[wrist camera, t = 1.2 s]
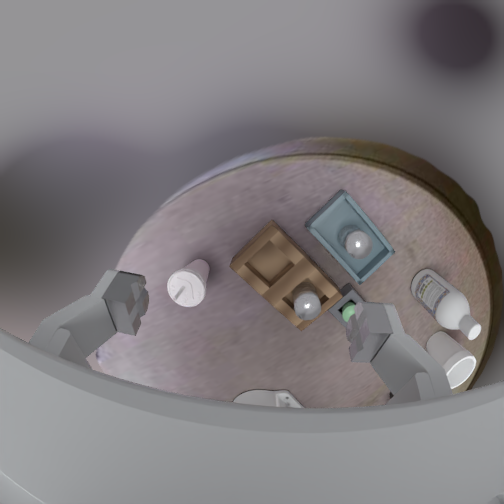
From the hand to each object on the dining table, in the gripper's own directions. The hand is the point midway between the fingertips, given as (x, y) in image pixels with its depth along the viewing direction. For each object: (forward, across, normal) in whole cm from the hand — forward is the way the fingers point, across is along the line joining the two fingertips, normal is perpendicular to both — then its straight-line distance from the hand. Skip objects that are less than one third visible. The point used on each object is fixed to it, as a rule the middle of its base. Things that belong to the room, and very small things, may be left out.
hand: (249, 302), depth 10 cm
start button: (+29, +19, -28) cm, 45 cm away
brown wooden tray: (+32, +6, -24) cm, 41 cm away
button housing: (+31, +19, -29) cm, 46 cm away
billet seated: (+30, +10, -26) cm, 41 cm away
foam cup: (+28, +48, -37) cm, 66 cm away
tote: (+35, +17, -16) cm, 42 cm away
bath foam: (+32, +36, -23) cm, 54 cm away
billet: (+34, +17, -16) cm, 41 cm away
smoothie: (+33, -10, -26) cm, 43 cm away
